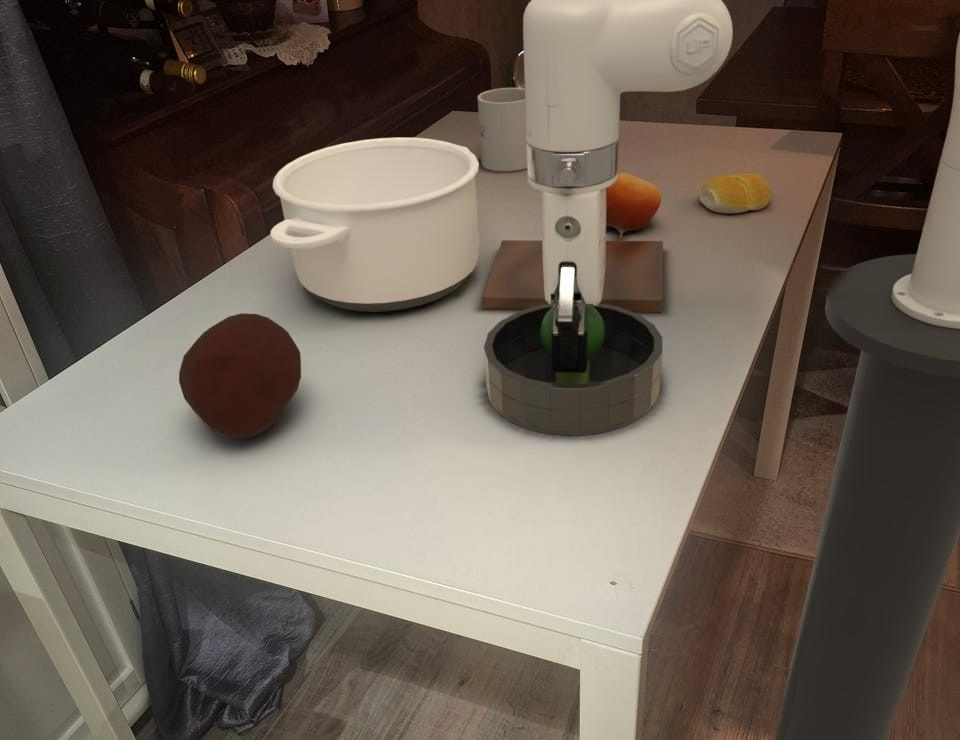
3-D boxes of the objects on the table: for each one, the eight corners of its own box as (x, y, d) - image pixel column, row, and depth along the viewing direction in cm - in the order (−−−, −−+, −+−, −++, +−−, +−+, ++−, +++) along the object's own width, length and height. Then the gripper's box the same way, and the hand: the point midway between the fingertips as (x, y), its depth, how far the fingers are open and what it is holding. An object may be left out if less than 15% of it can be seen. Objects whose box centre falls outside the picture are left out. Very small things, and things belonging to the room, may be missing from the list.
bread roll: (780, 208, 119) (785, 178, 117) (720, 219, 117) (723, 189, 115) (747, 188, 125) (751, 159, 123) (690, 199, 124) (692, 170, 121)
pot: (391, 363, 93) (373, 237, 84) (226, 321, 103) (195, 205, 94) (538, 244, 115) (535, 135, 106) (390, 219, 125) (377, 117, 116)
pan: (659, 347, 92) (662, 302, 89) (658, 439, 79) (662, 391, 76) (500, 343, 95) (498, 300, 92) (474, 432, 82) (471, 385, 79)
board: (662, 252, 110) (663, 240, 109) (661, 312, 98) (662, 300, 97) (502, 251, 114) (501, 240, 113) (482, 309, 101) (481, 297, 100)
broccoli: (605, 367, 88) (607, 288, 83) (602, 400, 84) (603, 319, 79) (545, 366, 89) (543, 288, 84) (538, 398, 85) (536, 317, 80)
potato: (317, 381, 91) (298, 287, 85) (303, 457, 80) (280, 356, 74) (209, 389, 91) (182, 296, 85) (180, 466, 80) (147, 366, 74)
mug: (525, 173, 136) (523, 104, 130) (473, 169, 139) (469, 102, 133) (550, 147, 145) (549, 82, 139) (501, 144, 148) (498, 80, 142)
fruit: (574, 222, 116) (596, 160, 114) (608, 236, 122) (630, 177, 120) (621, 237, 111) (645, 173, 109) (654, 251, 117) (678, 191, 115)
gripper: (613, 199, 66) (607, 403, 77) (622, 128, 80) (616, 311, 91) (513, 199, 68) (521, 400, 79) (538, 130, 81) (542, 310, 92)
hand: (572, 351), depth 84 cm, fingers closed on broccoli, 5 cm apart
